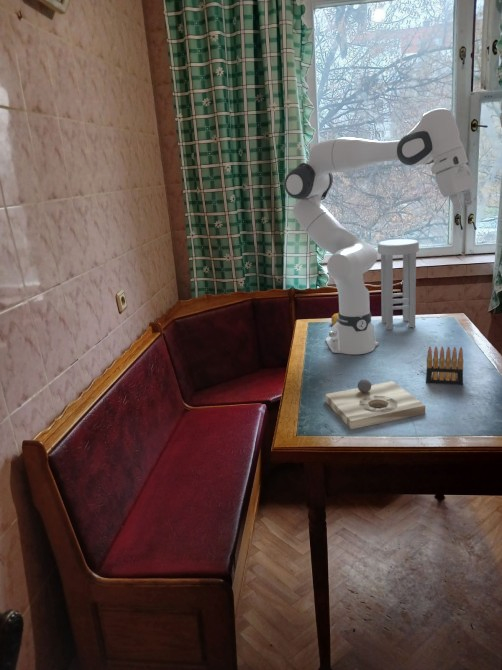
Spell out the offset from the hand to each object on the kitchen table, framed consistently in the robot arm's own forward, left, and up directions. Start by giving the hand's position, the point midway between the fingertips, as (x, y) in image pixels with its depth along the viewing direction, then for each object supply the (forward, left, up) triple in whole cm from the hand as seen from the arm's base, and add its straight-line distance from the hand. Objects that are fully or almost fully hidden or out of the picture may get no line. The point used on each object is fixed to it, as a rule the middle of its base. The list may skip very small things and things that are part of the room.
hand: (464, 207), depth 149 cm
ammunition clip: (+11, -12, -52) cm, 54 cm away
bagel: (-59, -15, -52) cm, 80 cm away
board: (+17, -39, -51) cm, 67 cm away
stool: (-47, +5, -52) cm, 70 cm away
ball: (+11, -39, -47) cm, 62 cm away
